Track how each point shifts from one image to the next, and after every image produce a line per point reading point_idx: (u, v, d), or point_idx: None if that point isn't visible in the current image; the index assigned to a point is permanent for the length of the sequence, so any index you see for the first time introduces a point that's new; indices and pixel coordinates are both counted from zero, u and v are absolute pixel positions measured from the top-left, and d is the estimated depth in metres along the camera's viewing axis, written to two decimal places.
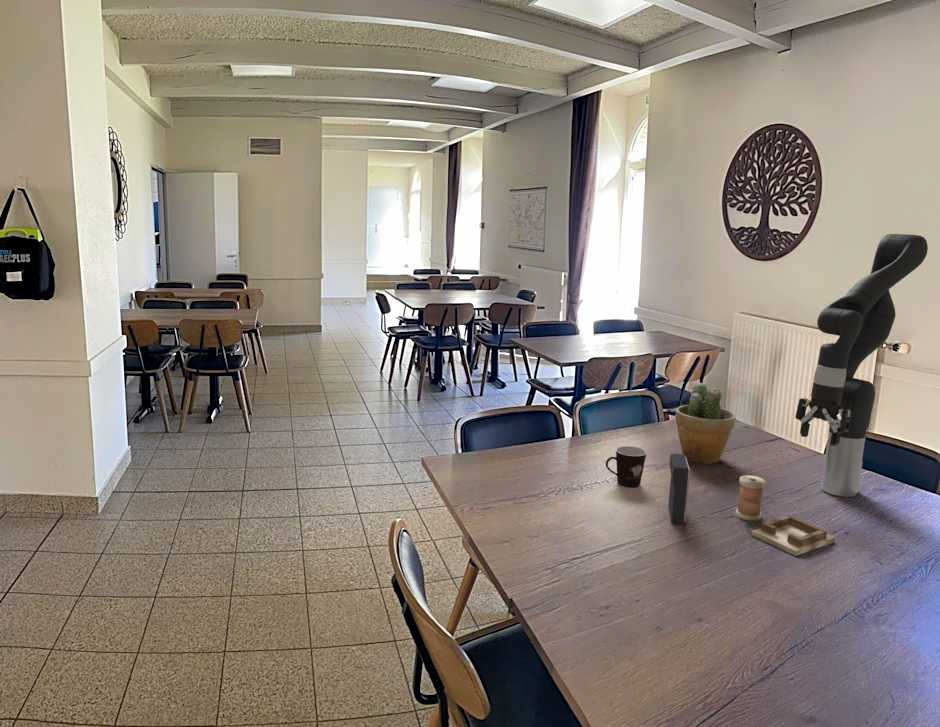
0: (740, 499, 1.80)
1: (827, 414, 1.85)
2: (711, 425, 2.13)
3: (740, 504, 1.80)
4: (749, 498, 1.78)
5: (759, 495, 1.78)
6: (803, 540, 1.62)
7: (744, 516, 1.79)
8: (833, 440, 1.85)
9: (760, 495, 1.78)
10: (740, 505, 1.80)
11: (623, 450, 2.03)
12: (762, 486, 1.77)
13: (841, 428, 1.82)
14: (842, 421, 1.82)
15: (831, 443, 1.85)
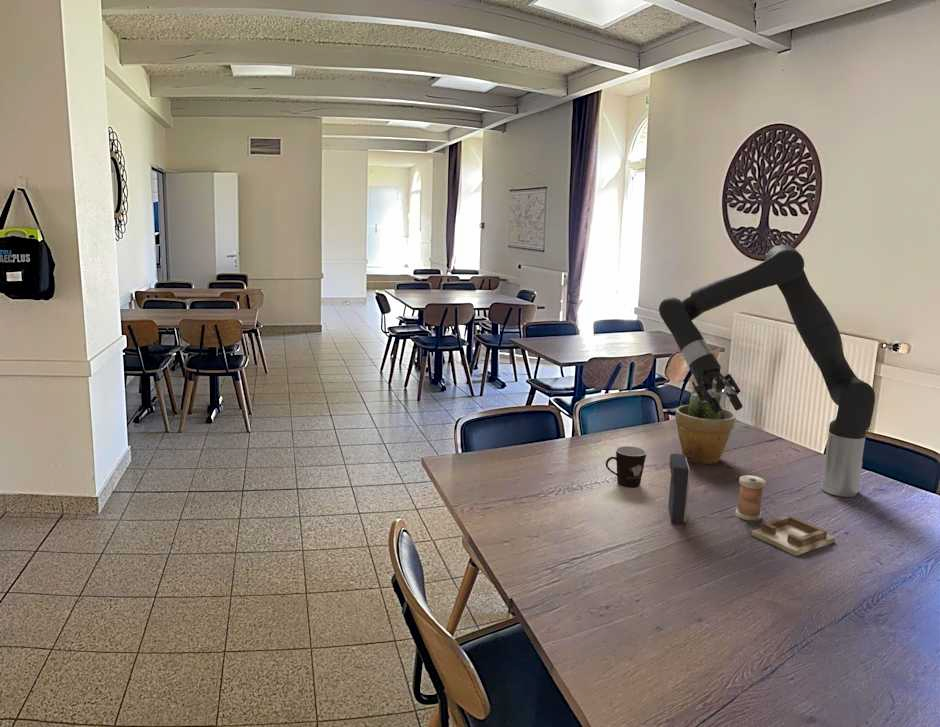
0: (740, 499, 1.80)
1: None
2: (711, 425, 2.13)
3: (740, 504, 1.80)
4: (749, 498, 1.78)
5: (759, 495, 1.78)
6: (803, 540, 1.62)
7: (744, 516, 1.79)
8: None
9: (760, 495, 1.78)
10: (740, 505, 1.80)
11: (623, 450, 2.03)
12: (762, 486, 1.77)
13: None
14: None
15: None
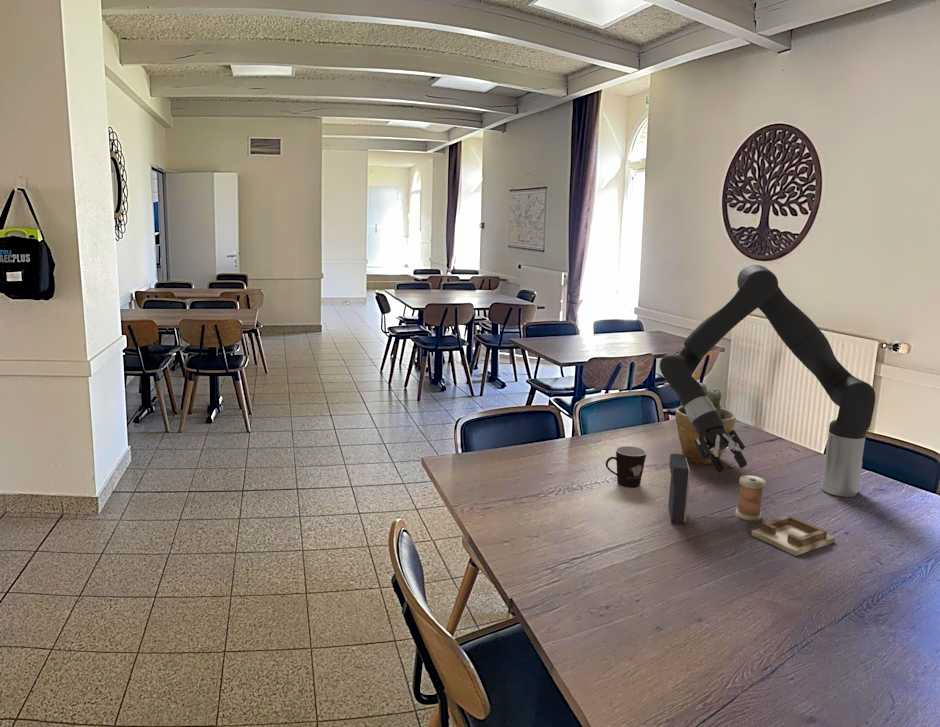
0: (740, 499, 1.80)
1: None
2: None
3: (740, 504, 1.80)
4: (749, 498, 1.78)
5: (759, 495, 1.78)
6: (803, 540, 1.62)
7: (744, 516, 1.79)
8: None
9: (760, 495, 1.78)
10: (740, 505, 1.80)
11: (623, 450, 2.03)
12: (762, 486, 1.77)
13: None
14: None
15: None
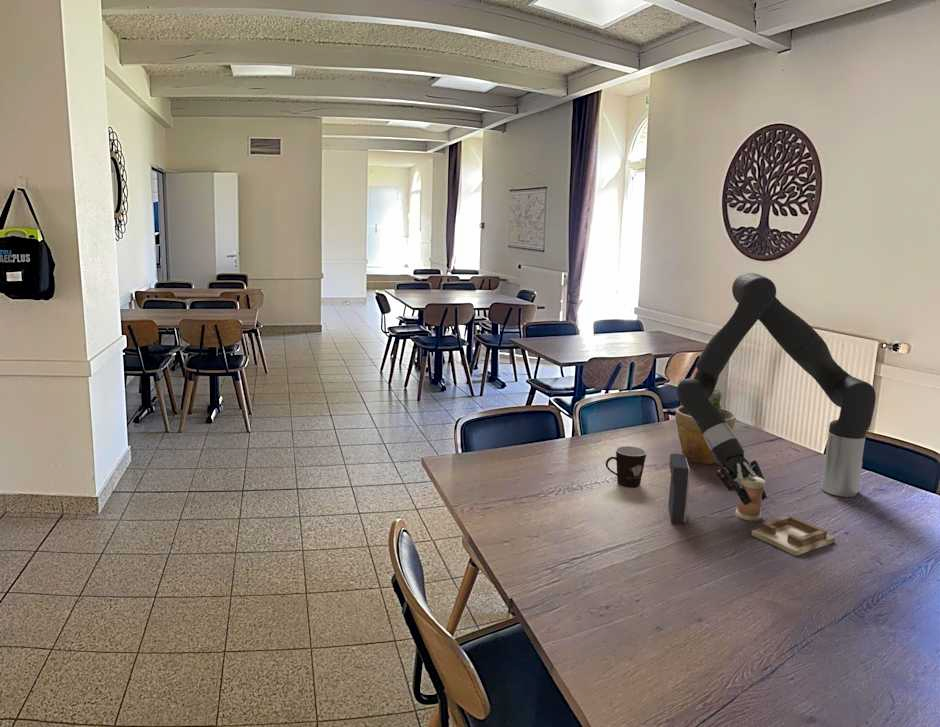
0: (740, 499, 1.80)
1: None
2: None
3: (740, 504, 1.80)
4: None
5: (759, 495, 1.78)
6: (803, 540, 1.62)
7: (744, 516, 1.79)
8: (742, 499, 1.78)
9: (760, 495, 1.78)
10: (740, 505, 1.80)
11: (623, 450, 2.03)
12: (762, 486, 1.77)
13: None
14: None
15: None
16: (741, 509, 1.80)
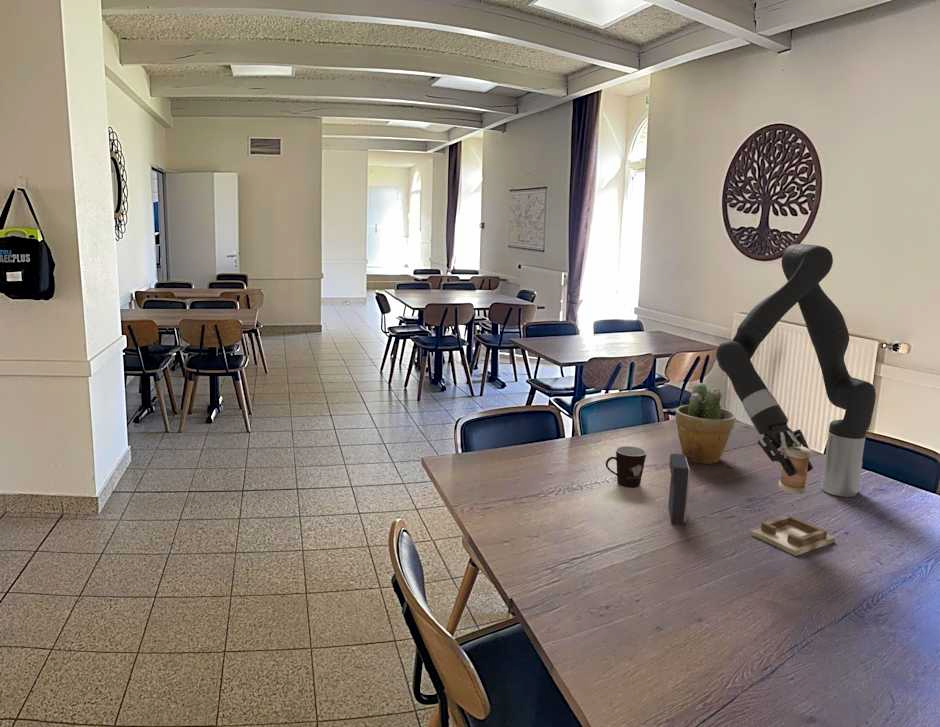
0: (784, 470, 1.67)
1: None
2: (711, 425, 2.13)
3: (784, 476, 1.67)
4: None
5: (805, 466, 1.64)
6: (803, 540, 1.62)
7: (788, 488, 1.65)
8: None
9: (806, 466, 1.64)
10: (784, 477, 1.67)
11: (623, 450, 2.03)
12: (808, 456, 1.63)
13: None
14: None
15: None
16: (785, 481, 1.66)
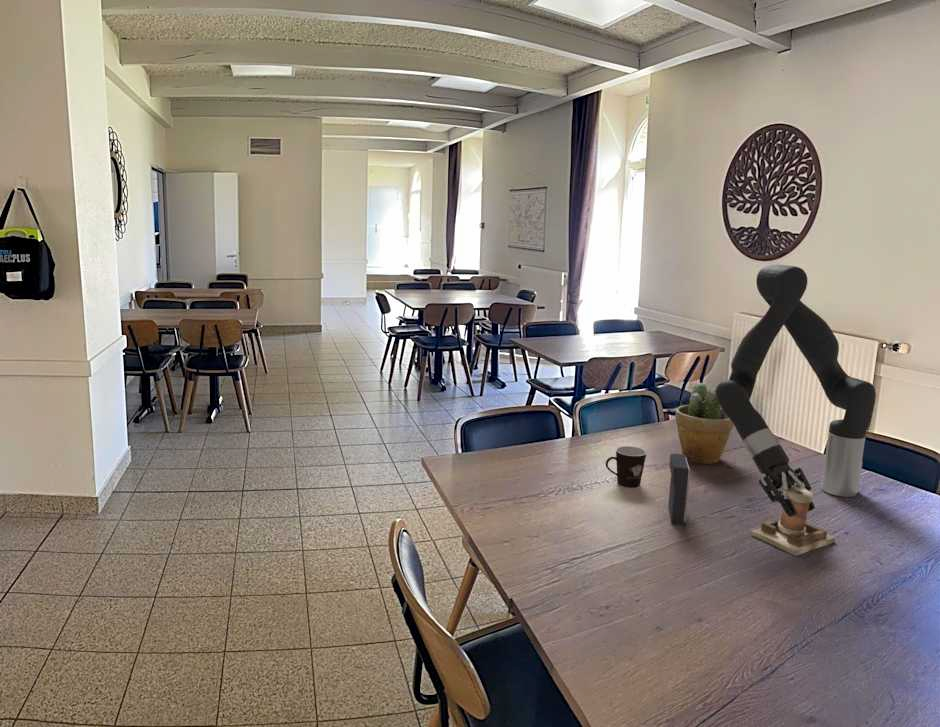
0: (784, 512, 1.68)
1: None
2: (711, 425, 2.13)
3: (784, 517, 1.68)
4: None
5: (805, 510, 1.65)
6: (803, 540, 1.62)
7: (787, 531, 1.67)
8: None
9: (806, 509, 1.65)
10: (784, 519, 1.68)
11: (623, 450, 2.03)
12: (810, 500, 1.64)
13: None
14: None
15: None
16: (784, 523, 1.67)
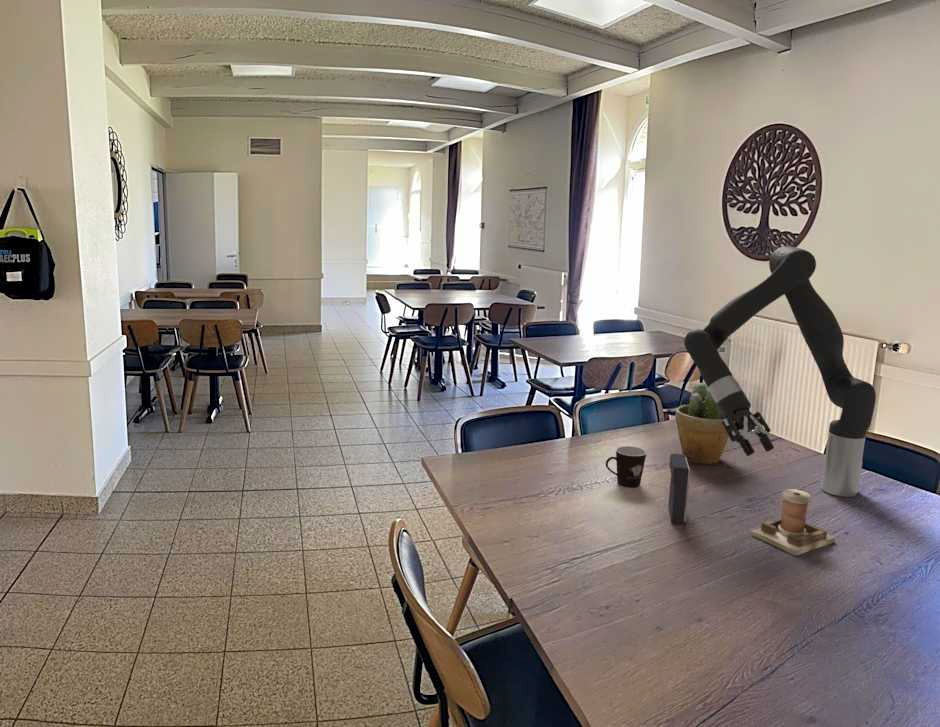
0: (783, 515, 1.68)
1: None
2: (711, 425, 2.13)
3: (783, 520, 1.68)
4: (793, 513, 1.66)
5: (804, 511, 1.66)
6: (803, 540, 1.62)
7: (788, 533, 1.67)
8: None
9: (805, 510, 1.66)
10: (783, 521, 1.68)
11: (623, 450, 2.03)
12: (807, 501, 1.65)
13: None
14: None
15: None
16: (784, 525, 1.68)
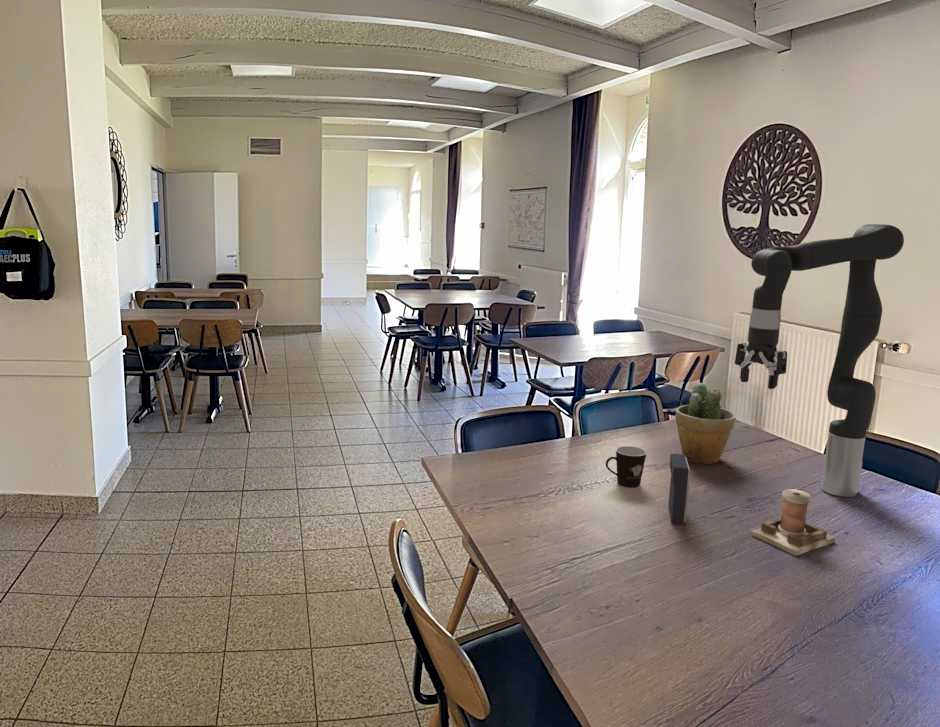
0: (783, 515, 1.68)
1: (763, 357, 1.83)
2: (711, 425, 2.13)
3: (783, 520, 1.68)
4: (793, 513, 1.66)
5: (804, 511, 1.66)
6: (803, 540, 1.62)
7: (788, 533, 1.67)
8: (771, 383, 1.83)
9: (805, 510, 1.66)
10: (783, 521, 1.68)
11: (623, 450, 2.03)
12: (807, 501, 1.65)
13: (777, 370, 1.80)
14: (778, 363, 1.80)
15: (769, 386, 1.83)
16: (784, 525, 1.68)
